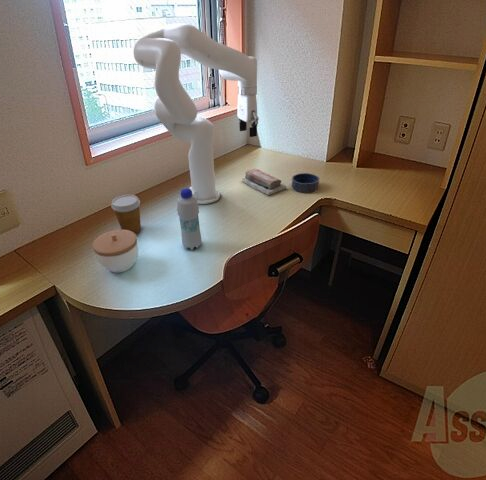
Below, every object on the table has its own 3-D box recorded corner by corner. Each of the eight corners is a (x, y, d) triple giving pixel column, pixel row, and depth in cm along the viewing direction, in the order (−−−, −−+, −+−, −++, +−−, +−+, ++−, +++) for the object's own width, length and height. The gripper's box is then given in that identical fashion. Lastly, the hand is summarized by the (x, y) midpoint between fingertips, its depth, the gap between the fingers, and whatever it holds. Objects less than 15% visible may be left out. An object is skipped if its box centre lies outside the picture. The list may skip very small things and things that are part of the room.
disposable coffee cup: (133, 221, 131) (127, 191, 125) (151, 229, 126) (145, 198, 120) (112, 232, 125) (104, 202, 119) (129, 241, 120) (122, 209, 114)
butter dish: (240, 171, 153) (259, 165, 157) (241, 182, 155) (259, 176, 160) (268, 185, 140) (287, 178, 145) (268, 196, 143) (286, 189, 147)
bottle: (202, 239, 119) (197, 184, 108) (202, 250, 113) (196, 193, 102) (182, 240, 119) (175, 185, 108) (181, 252, 113) (173, 195, 102)
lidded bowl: (141, 250, 115) (134, 220, 109) (143, 273, 105) (136, 242, 99) (100, 257, 113) (91, 227, 107) (99, 282, 103) (89, 250, 96)
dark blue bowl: (301, 195, 142) (301, 186, 140) (286, 185, 150) (287, 176, 148) (323, 189, 145) (324, 180, 143) (308, 180, 154) (309, 171, 152)
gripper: (230, 88, 149) (231, 129, 159) (248, 95, 136) (249, 140, 145) (246, 86, 151) (247, 127, 161) (266, 93, 138) (265, 137, 147)
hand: (248, 133), depth 153 cm, fingers open, 9 cm apart
